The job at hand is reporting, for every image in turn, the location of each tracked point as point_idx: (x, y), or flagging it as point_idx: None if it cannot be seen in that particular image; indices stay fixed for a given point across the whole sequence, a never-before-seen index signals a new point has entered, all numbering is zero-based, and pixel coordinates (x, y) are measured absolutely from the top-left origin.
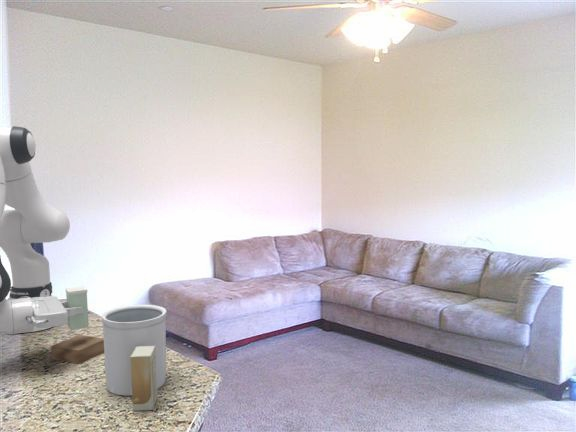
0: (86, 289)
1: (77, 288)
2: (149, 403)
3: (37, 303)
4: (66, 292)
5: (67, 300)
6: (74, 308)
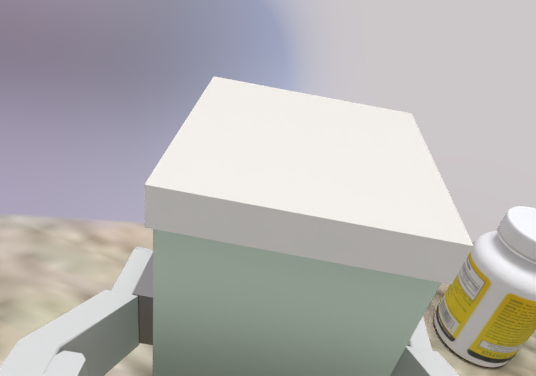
0: (395, 112)
1: (271, 122)
2: None
3: None
4: (236, 242)
5: (239, 330)
6: (450, 371)
